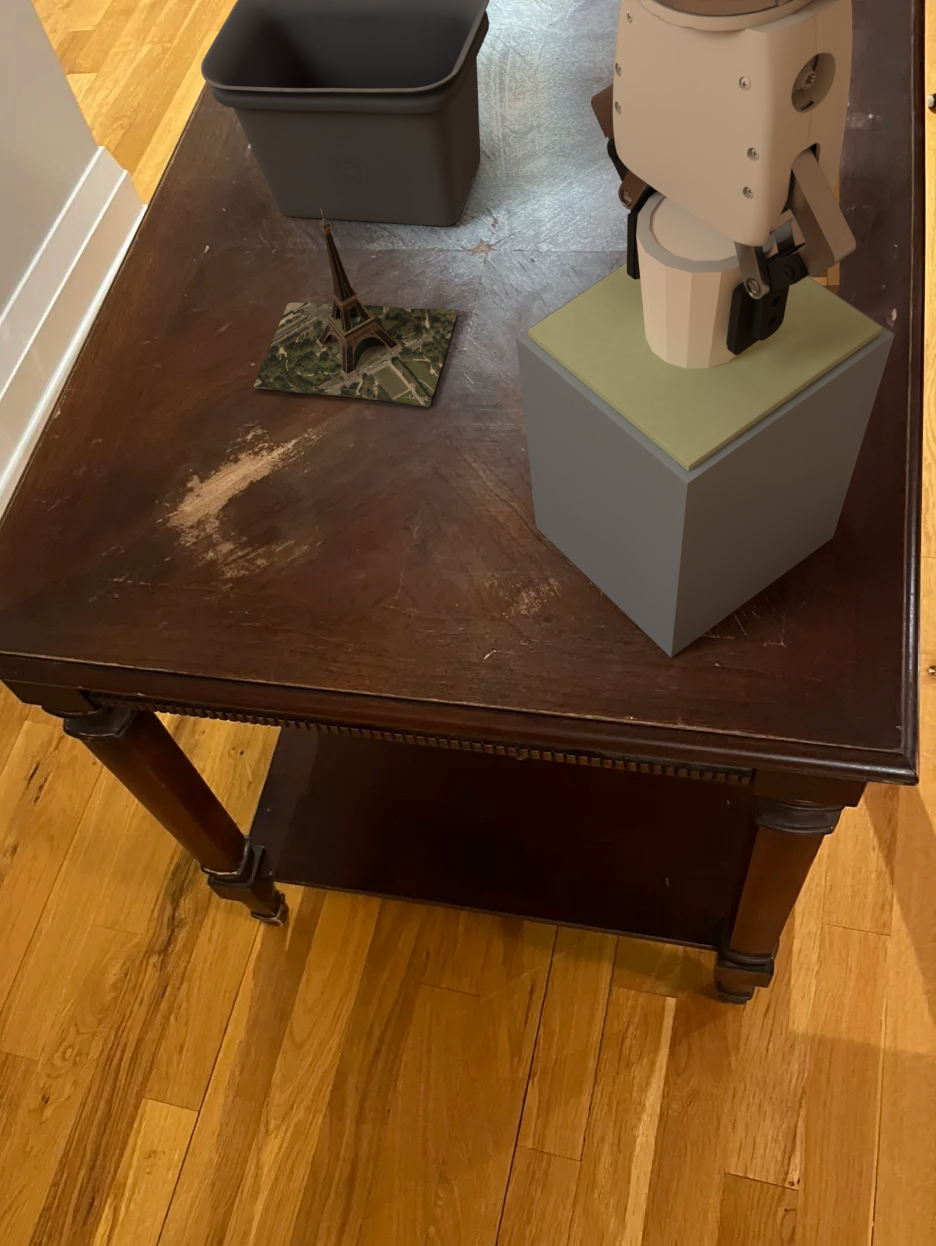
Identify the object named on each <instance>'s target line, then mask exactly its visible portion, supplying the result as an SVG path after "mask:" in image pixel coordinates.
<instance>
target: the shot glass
mask: <svg viewBox="0 0 936 1246" xmlns="http://www.w3.org/2000/svg"><path fill="white" fill-rule="evenodd" d="M636 236H637V247H638V258H639V269H640V280H641V291H642V302H643V313H644V324H645V335H646V339H647V341H648V343H649V345H650V347H651V350H652V352H653V353H655V354H656V355H657V356H659V357H660V358H661V359H663V360H664V361H665V362H667V363H669V364H672V365H676V366H679V367H683V368H686V369H700V368H711V367H714V366H717V365H721V364H724V363H727V362H729V361H731V360H732V359H733V358H735V357H736V356H737V355H734V354H733V353H732V352H730V351H729V350H728V349H727V345H726V341H727V333H728V324H729V316H730V308H731V300H732V293H733V290H734V289H735V288H736V287H737V286H738V285H739V284H741V283H742V282H743V279H742V274H741V270H740V266H739V262H738V257H737V253H736V249H735V245H734V241H733V240H731V239H729V238H727V237H726V236H724V235H722V234H721V233H719V232H718V231H716V230H715V229H713V228H712V227H710V226H708V225H707V224H705V223H704V222H702V221H701V220H699V219H698V218H696V217H695V216H693V215H692V214H691V213H689V212H688V211H686V210H685V209H683V208H682V207H680V206H679V205H677V204H676V203H674V202H673V201H672V200H670V199H669V198H667V197H666V196H664V195H663V194H661V193H660V192H659V191H657V192H656V193H654V194H653V195H652V196H650V197H649V199H648V200H647V202H646V203H645V205H644V206H643V208H642V209H641V211H640V212H639V214H638V220H637V232H636ZM762 246H763V251H764V256H765V260H766V259H768V258H769V257H771V256H772V255H774V254H776V253H777V252H778V250H777V245H776V240H775V235H774V232H772V233H771V234H770V235H769V236H768V239H767V241H766V243H765V244H764V245H762Z"/></svg>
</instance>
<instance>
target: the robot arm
mask: <svg viewBox="0 0 936 1246" xmlns="http://www.w3.org/2000/svg"><path fill="white" fill-rule="evenodd" d="M618 12H619V13H618V21H617V26H616V36H615V46H614V47H615V48H614V61H613V62H614V63H613V76H612V77H613V78H612V83H611V84H609V85H608V86H606V87H605V88H603V89H602V90H600V91H598V92H597V93H595V94H594V95H593V96H592V97H591V98H590V106H591V109H592V112H593V113H594V116H595V118H596V121H597V122H598V124H599V127H600V129H601V132H602V133H603V136H604V138H605V139H606V138H608V140H607V142H606V143H607V144H606V151H607V156H608V157H609V158H610V160H611V162H612V164H613V166H614V169H615V170H616V172H617V175H618V176H619V178H620V180H621V184H620V185H619V188H618V191H617V195H618V199H619V201H620V204H622V206H623V207H624V208H625V209H627V210H630V211H629V213H627V214H626V215H627V216H626V217H627V219H626V220H627V221H626V222H627V224H626V228H627V229H626V262H627V274H628V275H629V276H630V277H632V278H633V279H635V280H637V279H640V269H639V258H638V247H637V236H636V232H637V220H638V214H639V212H640V211H641V209H642V208H643V206H644V205H645V203H646V202H647V200H648V199H649V197H650V196H652V195H653V194H654V193H656V192H657V191H659V192H660V193H661V194H663V195H664V196H666V197H667V198H669V199H670V200H672V201H673V202H674V203H676V204H677V205H679V206H680V207H682V208H683V209H685V210H686V211H688V212H689V213H691V214H692V215H693V216H695V217H696V218H698V219H699V220H701V221H702V222H704V223H705V224H707V225H708V226H710V227H712V228H713V229H715V230H716V231H718V232H719V233H721V234H722V235H724V236H726V237H727V238H729V239H731V240H733V241H734V245H735V249H736V253H737V257H738V262H739V266H740V270H741V274H742V279H743V282H742V283H741V284H739V285H738V286H737V287H736V288H735V289H734V290H733V293H732V300H731V308H730V316H729V324H728V333H727V341H726V345H727V349H728V350H729V351H730V352H732V353H733V354H734V355H739V354H740V353H742V352H743V351H744V350H746V349H747V348H749V347H750V346H752V345H753V344H754V343H756V342H757V341H759V340H761V341H763V340H765V339H767V338H768V337H770V336H771V335H773V334H774V333H775V332H776V331H777V330H778V329H779V327H780V326H781V324H782V322H783V319H784V314H785V309H786V303H787V297H788V292H789V286H790V285H793V284H796V283H798V282H799V281H801V280H802V279H804V278H806V277H808V276H809V277H812V276H814V275H817V274H819V272H821V271H824V270H826V269H828V268H830V267H832V266H834V265H835V264H836V263H838V262H839V261H840V262H841V261H843V259H845V258H846V257H848V256H850V254H851V255H852V253H853V252H855V250H856V248H857V242H856V239H855V237H854V234H853V233H852V230H851V228H850V226H849V224H848V222H847V220H846V218H845V216H844V214H843V212H842V209H841V208H840V204H839V205H838V203H837V201H836V199H835V197H834V195H833V191H834V187H835V183H836V179H837V174H838V170H839V171H840V162H841V158H842V151H843V145H844V137H845V130H846V124H847V114H848V105H849V97H850V96H849V95H850V85H851V75H852V55H853V5H852V0H620V5H619V11H618ZM772 232H774V235H775V240H776V245H777V252H776V254H774V255H772V256H771V257H769V258H768V259H766V260H765V256H764V251H763V246H762V245H764V244H765V243H766V241H767V239H768V236H769V235H770V234H771V233H772Z"/></svg>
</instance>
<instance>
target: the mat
mask: <svg viewBox="0 0 936 1246" xmlns="http://www.w3.org/2000/svg"><path fill="white" fill-rule="evenodd" d="M625 263H626V262H625ZM622 265H623V264H622ZM618 268H619V267H618ZM615 270H616V269H615ZM612 272H613V271H612ZM609 274H610V273H609ZM606 276H607V275H606ZM603 278H604V277H603ZM600 280H601V279H600ZM597 282H598V281H597ZM594 284H595V283H594ZM594 284H593V285H594ZM590 287H591V286H590ZM587 289H588V288H587ZM584 291H585V290H584ZM581 293H582V292H581ZM578 295H579V294H578ZM575 297H576V296H575ZM838 297H839V296H838ZM838 297H836V296H835V295H834V294H832V293H831V292H829V291H828V290H826V289H825V288H823V287H822V286H820V285H819V284H817V283H816V282H814V281H813V280H811V279H810V278H808V277H806V278H804V279H802V280H801V281H799V282H798V283H796V284H793V285H790V286H789V292H788V297H787V303H786V309H785V314H784V319H783V322H782V324H781V326H780V327H779V329H778V330H777V331H776V332H775V333H774V334H773V335H771V336H770V337H768V338H767V339H765V340H763V341H761V340H759V341H757V342H756V343H754V344H753V345H752V346H750V347H749V348H747V349H746V350H744V351H743V352H742V353H740V354H739V355H737V356H736V357H735V358H733V359H732V360H731V361H729V362H727V363H724V364H721V365H717V366H714V367H711V368H700V369H686V368H683V367H679V366H676V365H672V364H669V363H667V362H665V361H664V360H663V359H661V358H660V357H659V356H657V355H656V354H655V353H653V352H652V350H651V347H650V345H649V343H648V341H647V339H646V335H645V324H644V313H643V302H642V291H641V280H640V279H637V280H635V279H633V278H632V277H630V276H629V275H628V274H627V263H626V264H625V265H623V266H622V267H621V268H619V269H618V270H616V271H615V272H613V273H612V274H610V275H609V276H607V277H606V278H604V279H603V280H601V281H600V282H598V283H597V284H595V285H594V286H593V287H591V288H590V289H588V290H587V291H585V292H584V293H582V294H581V295H579V296H578V297H576V298H575V299H573V298H572V299H573V300H572V301H570V300H569V301H570V302H569V303H568V304H566V303H565V304H566V305H565V306H563V305H562V306H563V307H562V308H560V307H559V308H560V309H559V310H557V309H556V310H557V311H556V312H554V311H553V312H554V313H553V314H551V313H550V314H551V315H550V316H548V315H547V316H548V317H547V318H545V317H544V318H545V319H544V320H542V319H541V320H542V321H541V320H540V321H541V322H540V323H538V322H537V323H538V324H537V325H535V324H534V325H535V326H534V327H532V326H531V327H532V328H531V329H529V328H528V329H529V330H528V336H529V337H530V338H531V339H532V340H533V341H534V342H535V343H537V344H538V345H539V346H540V347H541V348H543V349H544V350H545V351H546V352H547V353H548V354H550V355H551V356H552V357H553V358H554V359H556V360H557V361H558V362H559V363H560V364H562V365H563V366H564V367H565V368H566V369H567V370H569V371H570V372H571V373H572V374H573V375H575V376H576V377H577V378H578V379H579V380H581V381H582V382H583V383H584V384H585V385H586V386H588V387H589V388H590V389H591V390H592V391H594V392H595V393H596V394H597V395H598V396H599V397H601V398H602V399H603V400H604V401H605V402H607V403H608V404H609V405H610V406H611V407H613V408H614V409H615V410H616V411H617V412H618V413H620V414H621V415H622V416H623V417H624V418H626V419H627V420H628V421H629V422H630V423H631V424H633V425H634V426H635V427H636V428H637V429H639V430H640V431H641V432H642V433H643V434H645V435H646V436H647V437H648V438H649V439H650V440H652V441H653V442H654V443H655V444H656V445H658V446H659V447H660V448H661V449H662V450H664V451H665V452H666V453H667V454H668V455H669V456H671V457H672V458H673V459H674V460H675V461H677V462H678V463H679V464H680V465H681V466H682V467H684V468H685V469H686V470H687V471H690V470H692V469H693V468H694V467H696V466H697V465H698V464H700V463H701V462H703V461H704V460H705V459H707V458H708V457H710V456H711V455H712V454H714V453H715V452H717V451H718V450H719V449H721V448H722V447H724V446H725V445H726V444H728V443H729V442H731V441H732V440H733V439H735V438H736V437H737V436H739V435H740V434H742V433H743V432H744V431H746V430H747V429H749V428H750V427H751V426H753V425H754V424H756V423H757V422H758V421H760V420H761V419H763V418H764V417H765V416H767V415H768V414H770V413H771V412H772V411H774V410H775V409H777V408H778V407H779V406H781V405H782V404H783V403H785V402H786V401H788V400H789V399H790V398H792V397H793V396H795V395H796V394H797V393H799V392H800V391H802V390H803V389H804V388H806V387H807V386H809V385H810V384H811V383H813V382H814V381H816V380H817V379H818V378H820V377H821V376H822V375H824V374H825V373H827V372H828V371H829V370H831V369H832V368H834V367H835V366H836V365H838V364H839V363H841V362H842V361H843V360H845V359H846V358H848V357H849V356H850V355H852V354H853V353H855V352H856V351H857V350H859V349H860V348H862V347H863V346H864V345H866V344H867V343H868V342H870V341H871V340H873V339H874V338H875V337H877V336H878V335H880V333H881V329H882V327H881V326H882V325H881V326H879V325H878V324H879V323H878V324H876V323H875V322H876V321H875V322H873V321H872V320H873V319H872V320H870V319H869V318H868V317H869V316H868V317H866V316H865V315H866V314H865V315H863V314H862V313H863V312H862V313H860V312H859V311H860V310H859V311H857V310H856V309H857V308H856V309H854V308H853V307H854V306H853V307H851V306H850V305H851V304H850V305H848V304H847V303H848V302H847V303H845V302H844V301H845V300H844V301H842V300H841V299H842V298H841V299H839V298H838Z"/></svg>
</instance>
